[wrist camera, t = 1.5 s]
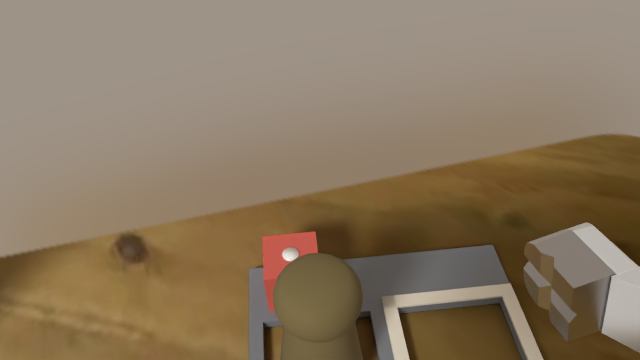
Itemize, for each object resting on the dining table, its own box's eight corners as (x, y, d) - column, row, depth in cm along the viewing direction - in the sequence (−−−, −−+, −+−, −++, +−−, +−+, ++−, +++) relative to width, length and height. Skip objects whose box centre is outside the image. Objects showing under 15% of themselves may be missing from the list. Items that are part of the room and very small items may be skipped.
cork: (299, 323, 40) (288, 226, 33) (376, 348, 39) (384, 252, 31) (264, 397, 36) (243, 306, 29) (349, 429, 35) (350, 341, 27)
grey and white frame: (251, 491, 32) (249, 486, 31) (250, 274, 44) (248, 267, 43) (576, 452, 33) (581, 446, 32) (490, 250, 45) (493, 243, 44)
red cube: (269, 312, 40) (263, 279, 37) (267, 268, 43) (262, 235, 40) (322, 306, 40) (320, 273, 38) (317, 264, 43) (315, 230, 40)
